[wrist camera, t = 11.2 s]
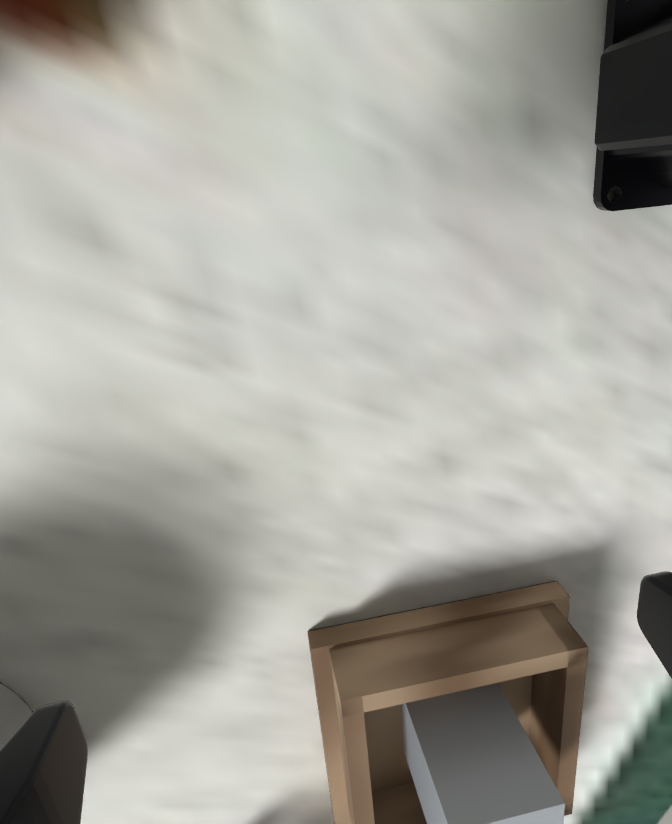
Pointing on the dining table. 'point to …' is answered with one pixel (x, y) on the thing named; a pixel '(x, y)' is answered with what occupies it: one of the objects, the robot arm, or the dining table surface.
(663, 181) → the robot arm
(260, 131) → the dining table surface
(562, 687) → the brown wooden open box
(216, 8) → the dining table surface
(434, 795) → the block
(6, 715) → the coffee mug
